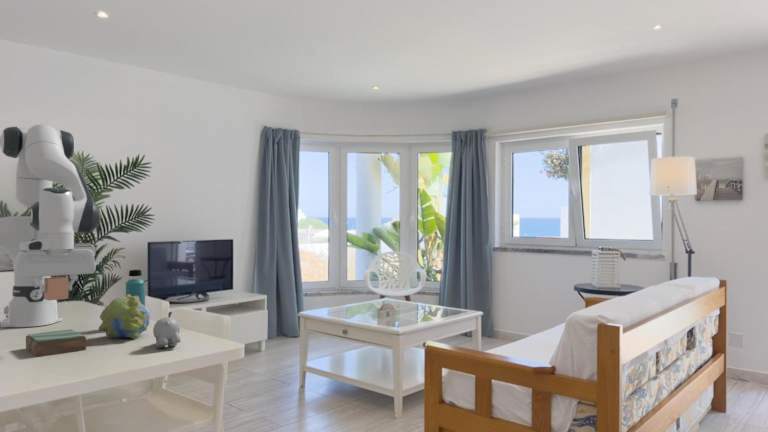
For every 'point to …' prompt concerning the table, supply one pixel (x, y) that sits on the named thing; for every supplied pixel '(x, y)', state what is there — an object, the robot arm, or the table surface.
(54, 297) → the terracotta block
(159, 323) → the round bodied animal figurine
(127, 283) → the beverage bottle
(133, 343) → the table surface
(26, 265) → the robot arm
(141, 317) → the earth globe model
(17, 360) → the table surface
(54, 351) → the green lidded wooden box
